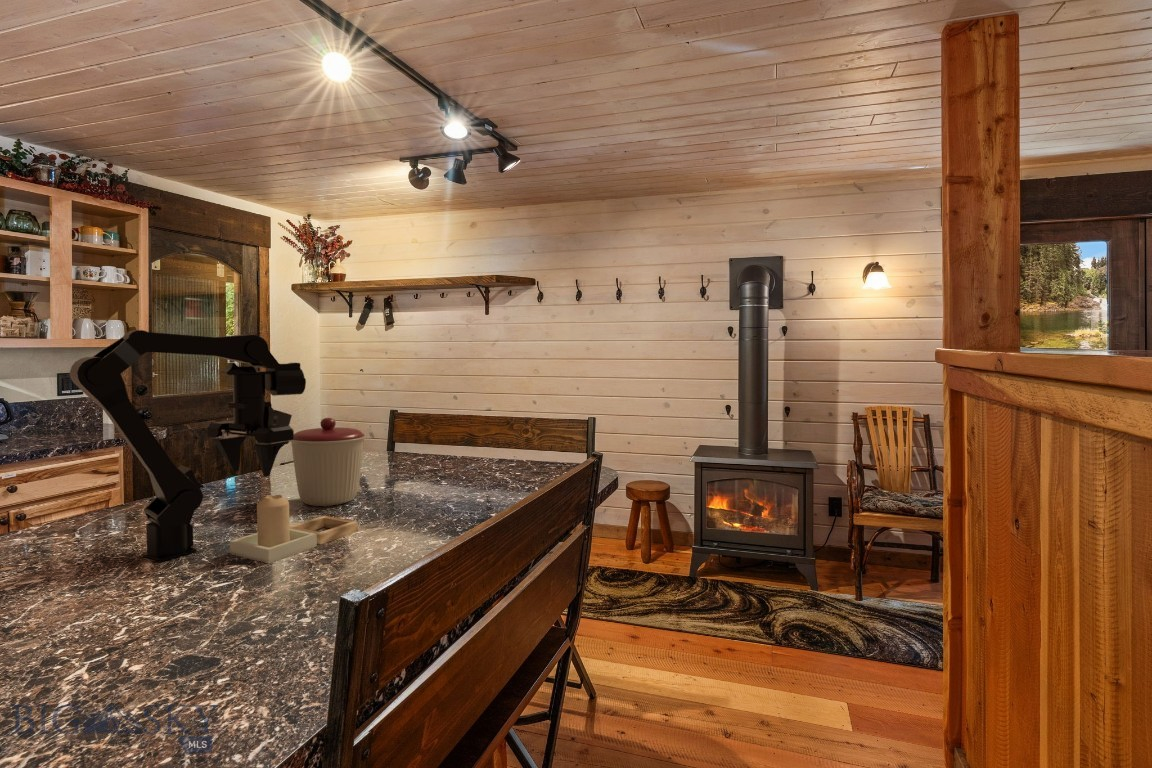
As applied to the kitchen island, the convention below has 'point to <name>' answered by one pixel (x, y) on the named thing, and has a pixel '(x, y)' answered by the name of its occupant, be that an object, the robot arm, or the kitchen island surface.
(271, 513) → the candle
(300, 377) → the robot arm
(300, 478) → the canister
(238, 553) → the parts tray
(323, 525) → the tan shallow square box
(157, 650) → the kitchen island surface
